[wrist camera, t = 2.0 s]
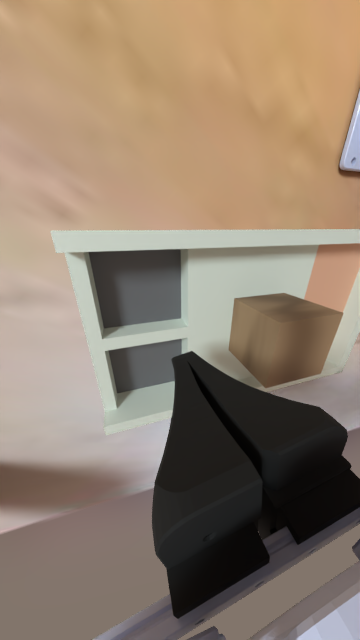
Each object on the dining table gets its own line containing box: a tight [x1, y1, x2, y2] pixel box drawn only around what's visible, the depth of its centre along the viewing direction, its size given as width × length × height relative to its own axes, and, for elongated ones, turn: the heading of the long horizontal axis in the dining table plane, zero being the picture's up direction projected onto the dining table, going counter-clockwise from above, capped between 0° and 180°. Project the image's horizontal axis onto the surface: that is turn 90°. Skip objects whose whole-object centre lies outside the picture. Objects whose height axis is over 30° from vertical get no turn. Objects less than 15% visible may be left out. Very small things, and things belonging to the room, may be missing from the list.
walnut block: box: [229, 293, 344, 388], centre depth 15 cm, size 5×5×5 cm
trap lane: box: [50, 229, 360, 435], centre depth 17 cm, size 26×15×4 cm, turn 92°
